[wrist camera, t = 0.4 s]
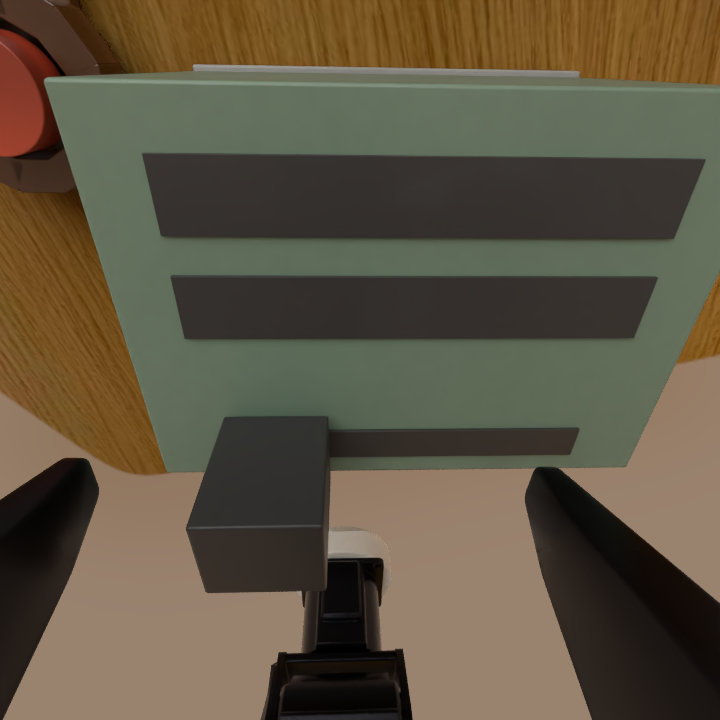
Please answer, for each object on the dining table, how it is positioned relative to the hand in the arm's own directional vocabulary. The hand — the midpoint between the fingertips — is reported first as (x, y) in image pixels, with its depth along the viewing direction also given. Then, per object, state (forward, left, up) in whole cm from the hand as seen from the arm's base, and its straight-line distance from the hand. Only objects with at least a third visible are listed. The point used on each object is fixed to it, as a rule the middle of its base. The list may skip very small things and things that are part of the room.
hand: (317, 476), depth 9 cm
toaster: (+2, -2, -14) cm, 14 cm away
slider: (-2, +1, -3) cm, 4 cm away
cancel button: (+6, +11, -12) cm, 17 cm away
